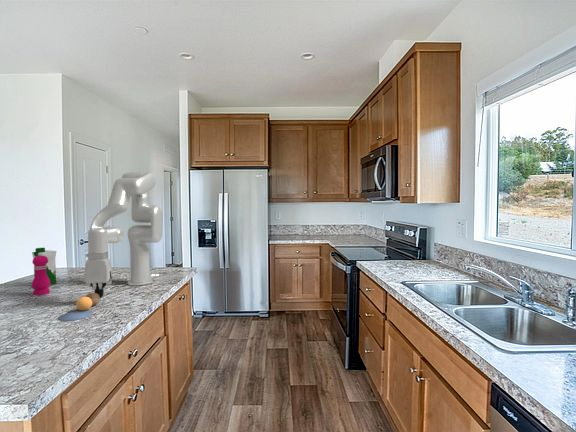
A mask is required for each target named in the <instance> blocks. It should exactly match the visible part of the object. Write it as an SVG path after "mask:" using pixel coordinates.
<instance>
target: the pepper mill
mask: <svg viewBox="0 0 576 432" xmlns="http://www.w3.org/2000/svg"><path fill="white" fill-rule="evenodd" d="M47 263H48V258H47V257H46V256H42V253H41V252H40V253H38V256H36V257H35V258H34V259H32V265H33V270H34V269H35V277H33V279H32V282H31V288H32V289H33V291H32V294H33V295H32V296H43V295H48V294H49V293H50V288H49V287H50V286H51V285H50V280H49V278H48V276H47V274H46V268H47V265H46V264H47ZM34 265H35V266H34Z"/></svg>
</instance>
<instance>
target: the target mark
mask: <svg viewBox="0 0 576 432" xmlns="http://www.w3.org/2000/svg"><path fill="white" fill-rule="evenodd" d="M92 314H93V312H92V311H90V310H85V311H81V310H75V311H71V312H67V313H63V314H61V315H59V316H58V317H57V320H58V321H60V320H61V322H71V321H72V320H73V321H78V319H79V320H82V318H83V319H86V318H87V317H90V316H92ZM73 321H72V322H73Z"/></svg>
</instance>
